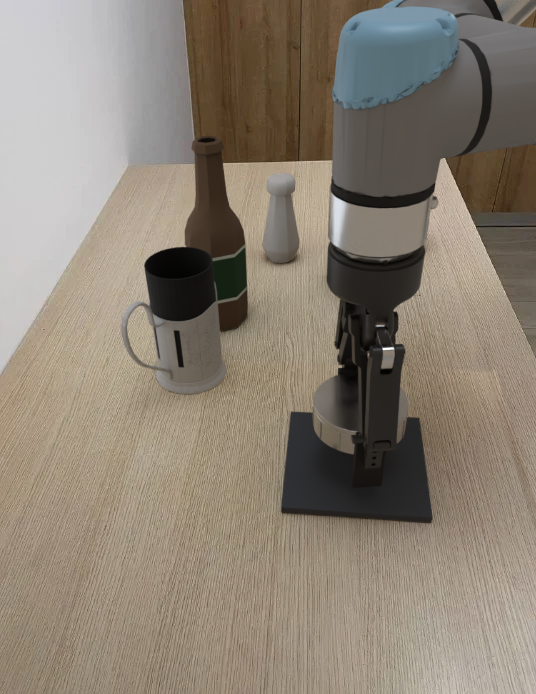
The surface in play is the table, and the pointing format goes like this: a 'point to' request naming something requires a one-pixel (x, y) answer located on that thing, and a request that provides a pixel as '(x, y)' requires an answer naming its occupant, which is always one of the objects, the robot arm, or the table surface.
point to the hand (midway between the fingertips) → (356, 449)
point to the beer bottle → (218, 232)
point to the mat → (336, 473)
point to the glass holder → (182, 320)
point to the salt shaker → (280, 220)
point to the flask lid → (345, 412)
